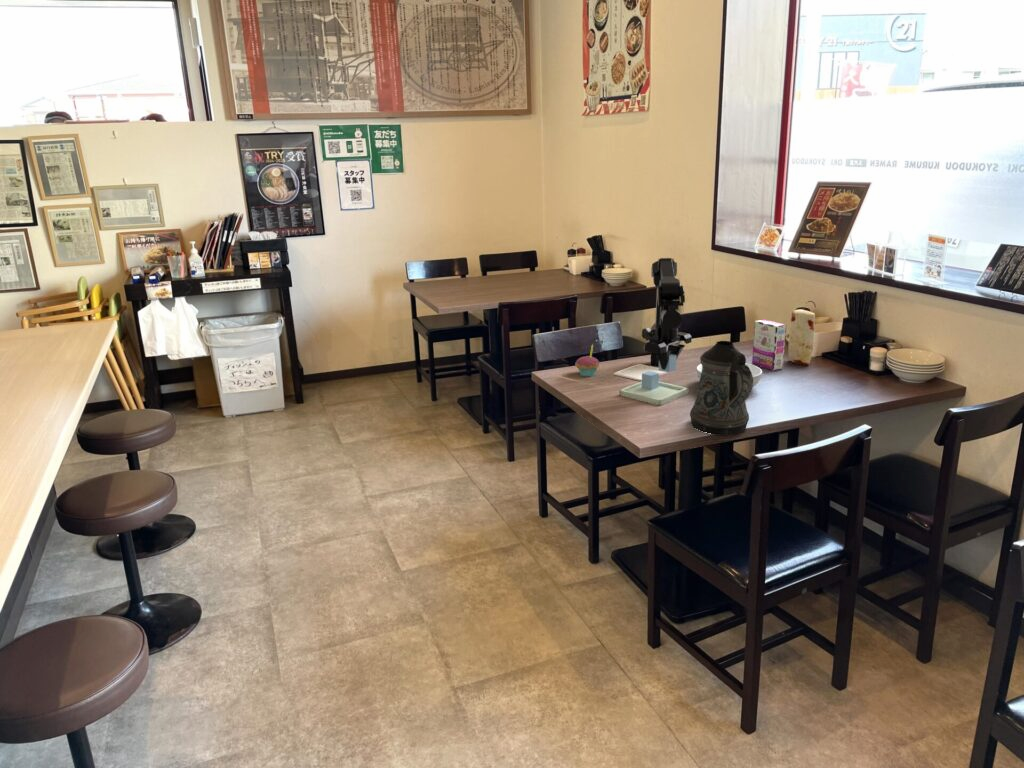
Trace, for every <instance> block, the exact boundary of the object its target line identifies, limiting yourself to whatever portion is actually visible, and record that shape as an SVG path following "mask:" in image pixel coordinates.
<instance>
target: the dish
mask: <svg viewBox="0 0 1024 768" xmlns="http://www.w3.org/2000/svg"><path fill="white" fill-rule="evenodd" d="M648 371H652V372H656V373H659V377H660V376H662V375H665V374H668V373H669V372H665V371H660V370H659V367H657V366H652V365H648V364H647V365H646V364H643V363H637V364H634V365H631V366H629V367H626V368H623V369H621V370H618V371H615V372H613V373H612V375H613V376H616V377H621V378H626V379H630V380H634V381H638V382H641V381H642V373H645V372H648Z"/></svg>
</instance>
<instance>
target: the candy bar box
mask: <svg viewBox="0 0 1024 768" xmlns="http://www.w3.org/2000/svg"><path fill="white" fill-rule="evenodd" d="M786 336H787V324H784V323H780V322H777V321H776V322H775V321H772V320H769V319H759V320H754V331H753V342H752V343H753V345H752V359H751V364H752V365H754V364H755V365H754V366H757V365H758V366H757V367H760V366H761V368H763V367H764V368H763V369H766V368H767V370H769V369H770V370H769V371H772V370H773V372H774V370H776V371H780V370H779V369H781V370H783V369H784V362H785V361H784V360H785V359H784V358H785V350H786V349H785V348H786V347H785V346H786V338H787V337H786Z"/></svg>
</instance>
